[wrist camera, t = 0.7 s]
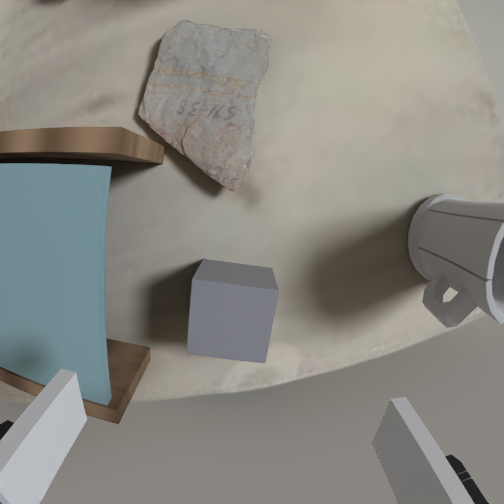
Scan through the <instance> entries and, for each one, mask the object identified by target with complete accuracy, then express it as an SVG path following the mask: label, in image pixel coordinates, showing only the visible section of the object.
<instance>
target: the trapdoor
mask: <svg viewBox="0 0 504 504" xmlns="http://www.w3.org/2000/svg"><path fill="white" fill-rule="evenodd" d="M111 169H112V167H110V166H96V165H75V164H37V163H1V164H0V367H2V368H5V369H7V370H9V371H11V372H14V373H16V374H18V375H21V376H23V377H25V378H28V379H30V380H33V381H35V382H38V383H40V384H43V385H47V384H48V383H49V382H50V381H51V380H52V378H53V377H54V376H55V375H56V374H57V373H58V372H59V371H60V369H61V368H62V369H65V370H69V371H72V372H76V374H77V379H78V384H79V388H80V393H81V397H82V398H83V399H86V400H90V401H93V402H96V403H100V404H103V405H108V403H109V402H110V400H111V398H112V396H111V387H110V378H109V368H108V357H107V343H106V325H105V241H106V223H107V209H108V197H109V187H110V177H111Z"/></svg>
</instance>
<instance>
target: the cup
mask: <svg viewBox="0 0 504 504" xmlns="http://www.w3.org/2000/svg"><path fill="white" fill-rule="evenodd" d="M408 250H409V255H410V259H411V261H412V263H413V265H414V267H415V269H416V270H417V271H418V272H419V273H420V274H421V275H422V276H424V277H425V278H427V279H428V280H430V281H431V282H430V283H429V284H428V285H427V286H426V288H425V290H424V295H423V301H422V302H423V304H424V306H425V307H426V308H427V309H428V310H429V311H430V312H431V313H432V314H433V315H434V316H435V317H436V318H437V319H438V320H439V321H440V322H441V323H442V324H444V325H445V326H446V327H447V328H448V327H453V326H457V325H458V324H459V323H461V322H462V321H463V320H464V319H465V318H466V317H467V316H468V315H469V314H470V313H471V312H472V311H473V310H474V309H475V308H476V307H477V306H478V307H479V308H480V309H482V310H483V311H484V312H485V313H487V314H488V315H489V316H490V317H492V318H493V319H494V320H495V321H497V322H498V323H502V324H504V203H492V202H475V201H466V200H465V199H463V198H461V197H460V196H458V195H453V194H437V195H435V196H432V197H429V198H428V199H427V200H426V201H425V202H424V203H422V204H421V205H420V206H419V208H418V210H417V211H416V213H415V214H414V216H413V218H412V221H411V225H410V228H409V231H408ZM449 287H451V288H452V289H454V290H456V291H457V292H459V293H458V294H457V295H456V296H455V297H454V298H453V299H452V300H451V301H450V302H444V303H442V302H443V295H444V293H445V292H446V291H447V290H448V288H449Z"/></svg>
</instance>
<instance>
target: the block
mask: <svg viewBox="0 0 504 504" xmlns="http://www.w3.org/2000/svg"><path fill="white" fill-rule="evenodd" d="M278 291H279V290H278V286H277V283H276V280H275V277H274V273H273V270H272V268H268V267H260V266H252V265H245V264H237V263H230V262H223V261H215V260H208V259H203V260H202V262H201V264H200V266H199V268H198V269H197V271H196V273H195V275H194V276H193V278H192V287H191V299H190V311H189V324H188V339H187V353H189V354H195V355H202V356H209V357H216V358H223V359H231V360H239V361H248V362H258V363H265V361H266V356H267V351H268V346H269V340H270V335H271V330H272V324H273V319H274V313H275V308H276V302H277V297H278Z"/></svg>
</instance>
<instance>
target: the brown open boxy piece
mask: <svg viewBox="0 0 504 504" xmlns="http://www.w3.org/2000/svg"><path fill="white" fill-rule="evenodd" d="M164 153H165V146H163V145H161V144H158V143H156V142H154V141H152V140H150V139H147V138H145V137H143V136H141V135H138V134H136V133H134V132H131V131H129V130H127V129H125V128H122V127H63V128H40V129H25V130H13V131H2V132H0V158H73V159H99V160H118V161H134V162H147V163H160V164H163V160H164ZM106 343H107V357H108V368H109V378H110V387H111V396H112V398H111V400H110V402H109V403H108V405H103V404H100V403H96V402H93V401H90V400H86V399H83V398H82V401H83V405H84V409H85V413H86V415H89V416H92V417H95V418H99V419H102V420H105V421H109V422H112V423H116V424H119V423H120V420H121V418H122V416H123V414H124V412H125V410H126V408H127V406H128V404H129V402H130V400H131V398H132V396H133V394H134V392H135V390H136V388H137V386H138V384H139V382H140V380H141V378H142V376H143V374H144V372H145V370H146V368H147V366H148V364H149V362H150V348H148V347H143V346H138V345H133V344H129V343H124V342H119V341H115V340H111V339H106ZM0 380H1V381H3V382H5V383H7V384H9V385H11V386H13V387H15V388H18V389H20V390H22V391H24V392H27V393H29V394H31V395H34V396H36V397H37V396H38V394H39V393H40V392H41V391H42V390H43V389H44V388H45V386H46V385H43V384H40V383H38V382H35V381H33V380H30V379H28V378H25V377H23V376H21V375H18V374H16V373H14V372H11V371H9V370H7V369H5V368H2V367H0Z"/></svg>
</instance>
